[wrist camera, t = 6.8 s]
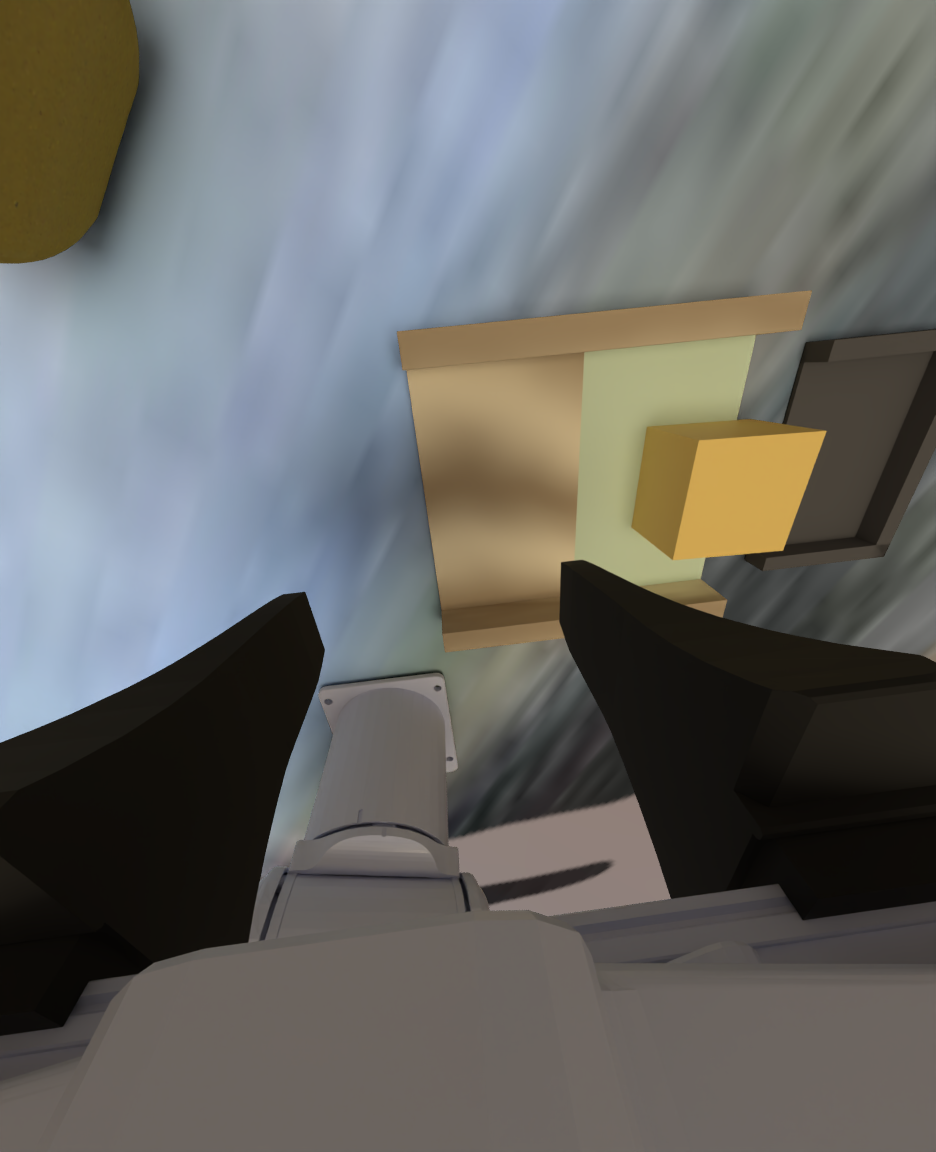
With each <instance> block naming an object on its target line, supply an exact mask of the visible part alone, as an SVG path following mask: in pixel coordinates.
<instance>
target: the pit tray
mask: <svg viewBox="0 0 936 1152" xmlns="http://www.w3.org/2000/svg"><path fill="white" fill-rule="evenodd" d="M783 424H786V425H792V426H799V427H805V428H812V429H818V430H825V431H827V432H826V434H825V437H824V440H823V442H822V445H821V448H820V451H819V453H818V456H817V459H816V462H815V464H814V467H813V470H812V473H811V475H810V478H809V481H808V484H807V486H806V489H805V492H804V495H803V497H802V500H801V503H800V505H799V508H798V511H797V514H796V516H795V519H794V522H793V525H792V527H791V530H790V533H789V536H788V538H787V541H786V544H785V547H784V549H783V551H773V552H762V553H750V554H746V557H745V561H747V562H749V563H750V564H752V565H754V566H755V567H757V568H759V569H760V570H762V571H766V570H775V569H783V568H792V567H800V566H809V565H817V564H825V563H834V562H842V561H851V560H859V559H868V558H876V557H884V555H885V553H886V551H887V549H888V547H889V545H890V543H891V541H892V538H893V536H894V534H895V532H896V530H897V528H898V526H899V524H900V522H901V520H902V517H903V515H904V513H905V511H906V509H907V507H908V505H909V503H910V501H911V498H912V496H913V494H914V492H915V490H916V488H917V486H918V484H919V482H920V479H921V477H922V475H923V473H924V471H925V469H926V467H927V465H928V463H929V460H930V458H931V456H932V454H933V452H934V450H935V448H936V329H932V330H922V331H912V332H903V333H893V334H883V335H874V336H864V337H854V338H844V339H835V340H825V341H815V342H806V345H805V349H804V352H803V356H802V359H801V363H800V367H799V370H798V374H797V377H796V381H795V384H794V388H793V391H792V395H791V398H790V402H789V405H788V409H787V412H786V416H785V419H784V423H783Z"/></svg>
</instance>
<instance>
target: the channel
mask: <svg viewBox="0 0 936 1152" xmlns="http://www.w3.org/2000/svg"><path fill="white" fill-rule="evenodd" d="M811 292H812V290H811V291H801V292H791V293H781V294H771V295H761V296H751V297H741V298H731V299H721V300H711V301H701V302H690V303H680V304H670V305H660V306H650V307H640V308H630V309H620V310H610V311H600V312H590V313H580V314H569V315H559V316H549V317H539V318H529V319H519V320H509V321H499V322H489V323H479V324H469V325H458V326H448V327H438V328H428V329H418V330H408V331H398V332H397V336H398V342H399V349H400V356H401V362H402V369H403V370H407V377H408V384H409V391H410V398H411V404H412V411H413V418H414V425H415V432H416V439H417V445H418V452H419V459H420V466H421V473H422V480H423V486H424V493H425V500H426V507H427V514H428V521H429V527H430V534H431V541H432V548H433V555H434V561H435V568H436V575H437V582H438V589H439V596H440V602H441V609H442V635H443V641H444V648H445V652H452V651H460V650H468V649H477V648H485V647H493V646H501V645H510V644H518V643H526V642H534V641H543V640H551V639H559V638H565V637H564V634H563V631H562V628H561V625H560V623H559V613H560V577H561V562H566V561H574V558H575V537H576V516H577V495H578V474H579V453H580V432H581V411H582V390H583V369H584V352H591V351H601V350H611V349H621V348H631V347H641V346H650V345H660V344H670V343H680V342H690V341H700V340H709V339H719V338H729V337H739V336H749V335H758V334H767V333H776V332H785V331H794V330H801V329H802V325H803V322H804V318H805V314H806V311H807V307H808V303H809V300H810V296H811ZM640 587H642V588H644V589H647V590H649V591H651V592H653V593H656V594H658V595H660V596H663V597H665V598H668V599H670V600H673V601H675V602H678V603H680V604H683V605H686V606H688V607H691V608H694V609H697V610H700V611H703V612H706V613H709V614H712V615H715V616H719V617H723V613H724V610H725V606H726V602H727V599H725V598H724V597H723V596H721V595H720V594H719V593H718V592H716V591H715V590H714V589H713V588H711V587H710V586H709V585H707V584H706V583H705V582H704V581H702V580H701V579H696V580H688V581H679V582H671V583H662V584H654V585H645V586H640Z"/></svg>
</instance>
